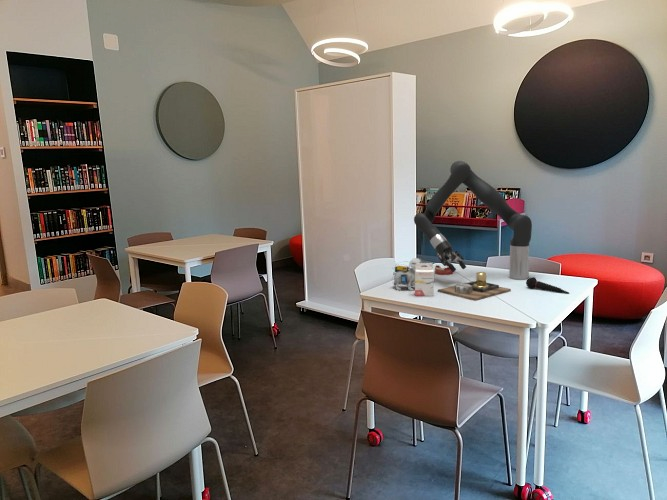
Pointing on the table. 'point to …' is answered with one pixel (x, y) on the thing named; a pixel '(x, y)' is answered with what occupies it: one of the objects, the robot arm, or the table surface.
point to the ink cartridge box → (424, 279)
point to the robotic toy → (406, 274)
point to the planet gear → (481, 280)
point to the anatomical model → (442, 270)
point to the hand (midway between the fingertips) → (459, 269)
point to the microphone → (543, 286)
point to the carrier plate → (473, 291)
